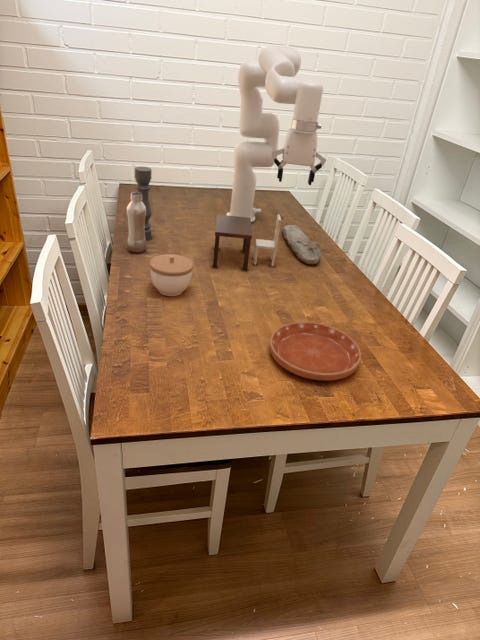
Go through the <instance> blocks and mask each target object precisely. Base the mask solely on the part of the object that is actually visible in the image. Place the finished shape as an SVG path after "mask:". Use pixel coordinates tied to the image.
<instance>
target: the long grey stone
mask: <svg viewBox="0 0 480 640" xmlns="http://www.w3.org/2000/svg"><path fill="white" fill-rule="evenodd" d="M282 234H283V238H284V239H285V240H286V241H287V245H288V246H289V247H290V249H291V251H292V252H293V253H294V254H295V256H296V257H297V259H298V260H300V262H303V263H304V264H307V265H317V264H319V262H320V261H321V258H322V252H321V250H320V248H319V247H320V246H321V245H320V243H319V242H317V241H312V240H310V239H309V237H308V236H307V235H306V233H305V232H304V231H303V230H302V229H301V228H300V226H297V225H296V224H285V226H283V228H282Z"/></svg>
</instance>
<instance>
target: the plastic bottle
mask: <svg viewBox="0 0 480 640" xmlns="http://www.w3.org/2000/svg"><path fill="white" fill-rule="evenodd" d="M130 200H131V201H130V202H129V203H128V205H127V206H126V217H127V223H128V235H127V241H126V245H127V249H128V250H129V252H132V253H142V252H144V251H145V250H146V249H147V241H146V238H145V217H146V207H145V205H144V204H143V202H142V200H143V198H142V193H139V192H137V191H134V192H131V193H130Z"/></svg>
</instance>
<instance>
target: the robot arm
mask: <svg viewBox="0 0 480 640" xmlns="http://www.w3.org/2000/svg"><path fill="white" fill-rule="evenodd" d="M301 66H302V57H301V55H300V53H299V51H298V50H297V49H296V48H293V47H287V46H279V45H270V46H265V47H264V48H262V49H261V51H260V52H259V54H258V60H253V59H252V60H245V61H243V62H242V63H241V64H240V65H239V68H238V73H237V83H238V90H239V96H240V106H239V121H238V122H239V123H238V124H239V125H238V130H239V135H241V137H244V138H247V139H263V141H248V140H247V141H245V140H244V141H240V142H237V143H236V145H234V148H233V179H232V189H231V197H230V208H229V211H228V212H227V213H226V214H225V215H228V216H238V217H247V218H251V224H252V223H254V222H255V221H256V216H255V215H256V214H261V213H262V209H261V208H256V207H254V202H255V196H256V186H257V175H256V173H255V172H254V170H253V168H272V167H273V166H274V165H276V167H277V176H276V178H277V179H278V182H279V183H281V182H283V174H284V167H285V166H287V164H288V165H293V166H294V165H295V166H304V167H309V168H310V170H309V174H308V178H307V179H308V180H307V184H308V186H312V183H314V181H315V175H316V173H317V172H318V171H319V170H320V169H322V168H323V166H324V165H325V163H326V162H327V158H326V157H325V156H323V155H322V154H320V153H319V152H317V150H318V132H317V130H321V129H322V124H321V123H319V122H318V121H319V114H320V108H321V105H322V104H321V103H322V98H323V92H324V85H323V83H321V82H319V81H315V80H313V79H311V78H305V77H297V74H298V73H299V71H300V68H301ZM259 88H263V89H264V88H265V91H266V94H267V95H268V96H269V98H270V99H271V100H272V101H273V102H275V103H277V104H285V105H294V108H293V114H292V121H291V128H288V129H287V133H286V135H285V141H284V144H283V148H280V149H279V148H278V147H279V138H280V137H279V136H280V121H279V118H278V116H277V115H276V113H272V112H263V104H264V103H263V102H264V98H263V96H262V93H261V91H260V89H259ZM280 155H282V157H281V161H280V160H279V159H278V156H280ZM316 159H318V160H319V162H318V163H317V164H316V165H315V163H316Z"/></svg>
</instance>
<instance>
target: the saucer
mask: <svg viewBox="0 0 480 640" xmlns="http://www.w3.org/2000/svg"><path fill="white" fill-rule="evenodd" d="M269 351H270V354H271V357H272V358H273V359H274V361H275V362H276V363H277V364H278V365H279V366H281V367H282V368H283V369H285V370H286V371H288V372H290V373H291V374H294V375H296V376H298V377H302V378H306V379H309V380H314V381H315V380H316V381H337V380H340V379H341V380H342V379H345V378H347V377H349V376H351V375H353V374H354V373H355V372H356V370H357V369H358V368H359V366H360V364H361V363H360V362H361V359H362V352H361V349H360V347H359V345H358V343H357V342H356V341H355V340H354V339H353V338H352V337H350V336H349V335H348V334H346V333H345V332H343V331H341V330H339V329H337V328H335V327H333V326H330V325H327V324H324V323H319V322H311V321H296V322H289V323H285V324H284V325H281V326H279V327H278V328H276V329H275V330H274V331H273V332H272V334H271V335H270V339H269Z"/></svg>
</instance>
